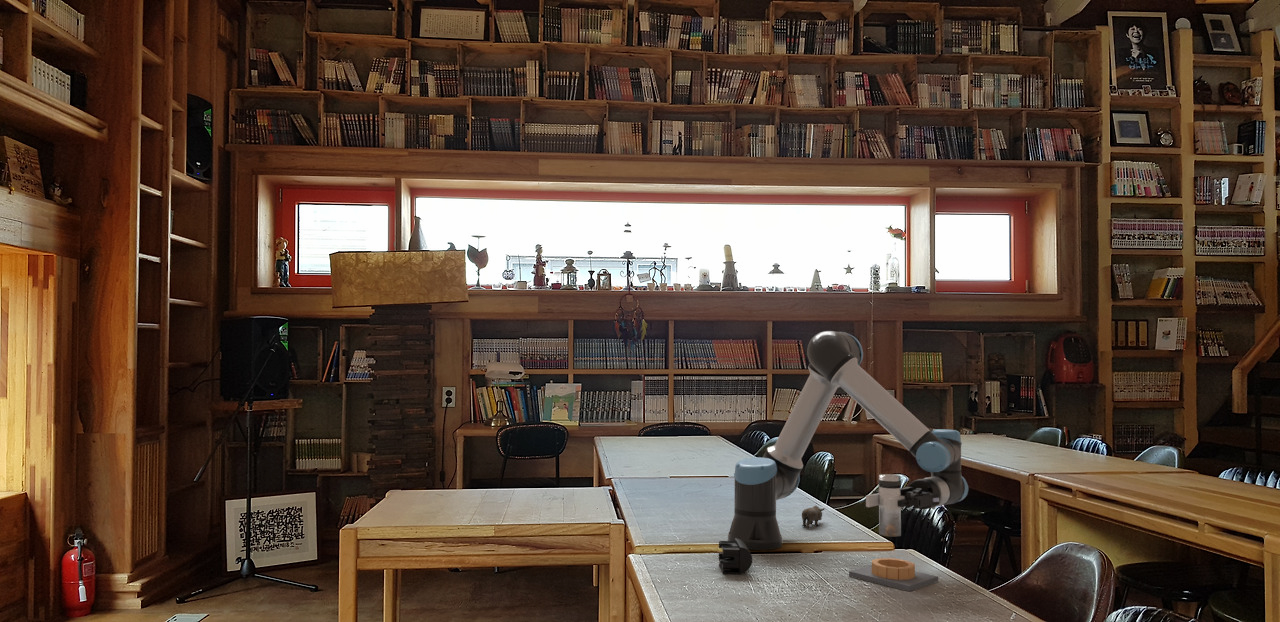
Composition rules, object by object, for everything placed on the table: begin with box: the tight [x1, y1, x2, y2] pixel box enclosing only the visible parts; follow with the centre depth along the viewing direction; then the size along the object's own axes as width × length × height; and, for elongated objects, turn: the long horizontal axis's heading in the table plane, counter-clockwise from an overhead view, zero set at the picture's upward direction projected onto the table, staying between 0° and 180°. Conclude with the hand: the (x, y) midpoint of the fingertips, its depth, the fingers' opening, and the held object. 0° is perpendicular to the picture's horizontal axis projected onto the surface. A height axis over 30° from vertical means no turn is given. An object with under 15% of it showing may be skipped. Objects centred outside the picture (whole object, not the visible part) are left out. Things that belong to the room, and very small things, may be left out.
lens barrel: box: [878, 473, 902, 537], centre depth 195 cm, size 5×5×14 cm
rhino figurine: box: [801, 505, 826, 529], centre depth 255 cm, size 4×14×6 cm, turn 144°
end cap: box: [718, 538, 753, 576], centre depth 199 cm, size 10×7×7 cm
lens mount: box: [848, 557, 939, 592], centre depth 193 cm, size 16×13×4 cm
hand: (877, 503), depth 192 cm, fingers closed on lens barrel, 5 cm apart
